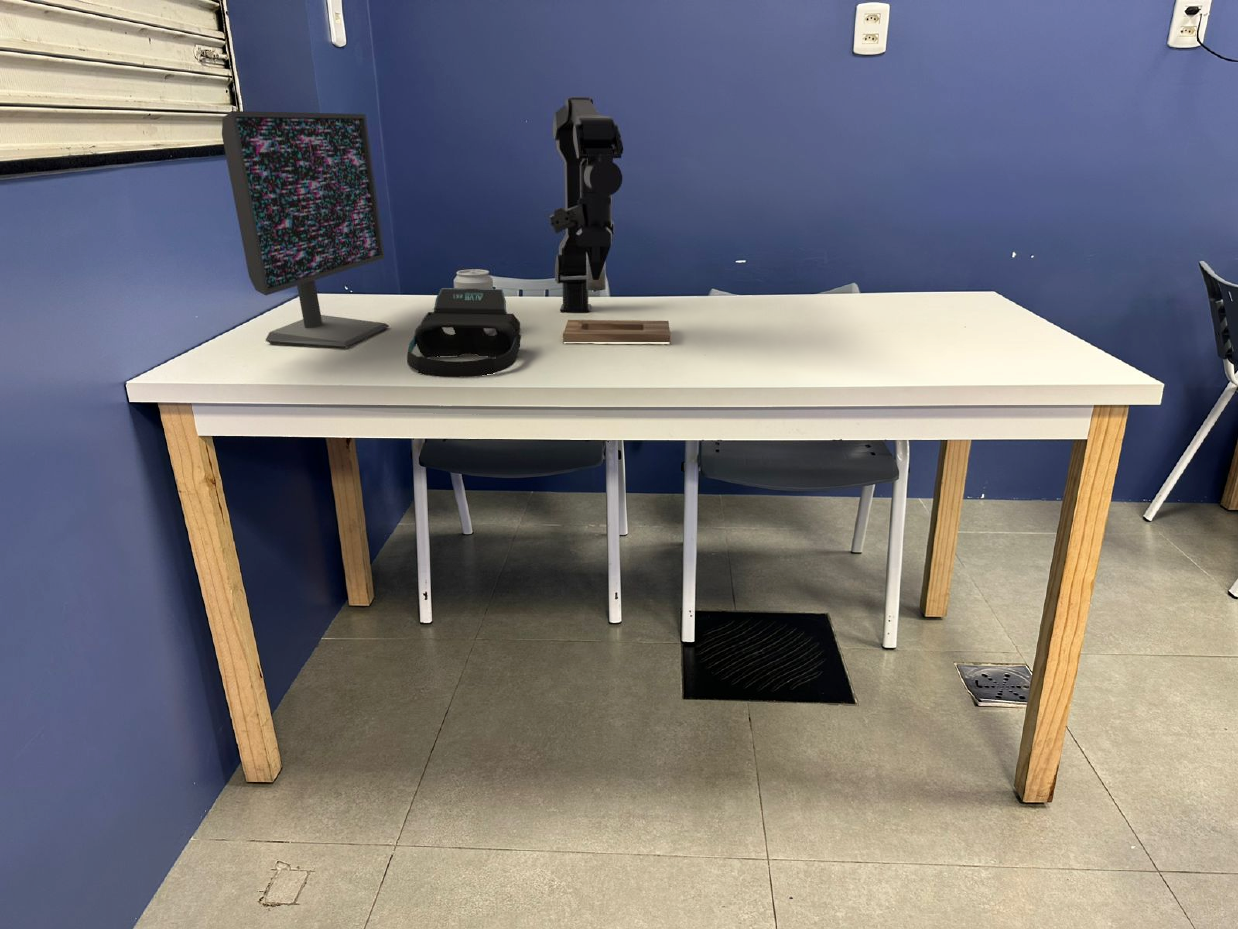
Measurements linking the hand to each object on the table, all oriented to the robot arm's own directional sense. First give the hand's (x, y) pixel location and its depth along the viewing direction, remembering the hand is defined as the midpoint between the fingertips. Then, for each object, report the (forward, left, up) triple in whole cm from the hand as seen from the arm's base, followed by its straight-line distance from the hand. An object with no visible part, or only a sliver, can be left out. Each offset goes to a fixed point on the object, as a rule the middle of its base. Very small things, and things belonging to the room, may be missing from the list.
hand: (596, 277), depth 162 cm
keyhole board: (0, +4, -11) cm, 12 cm away
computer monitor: (+2, -51, -12) cm, 53 cm away
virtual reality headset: (+19, -22, -12) cm, 31 cm away
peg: (0, 0, -2) cm, 2 cm away
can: (-3, -24, -12) cm, 27 cm away
